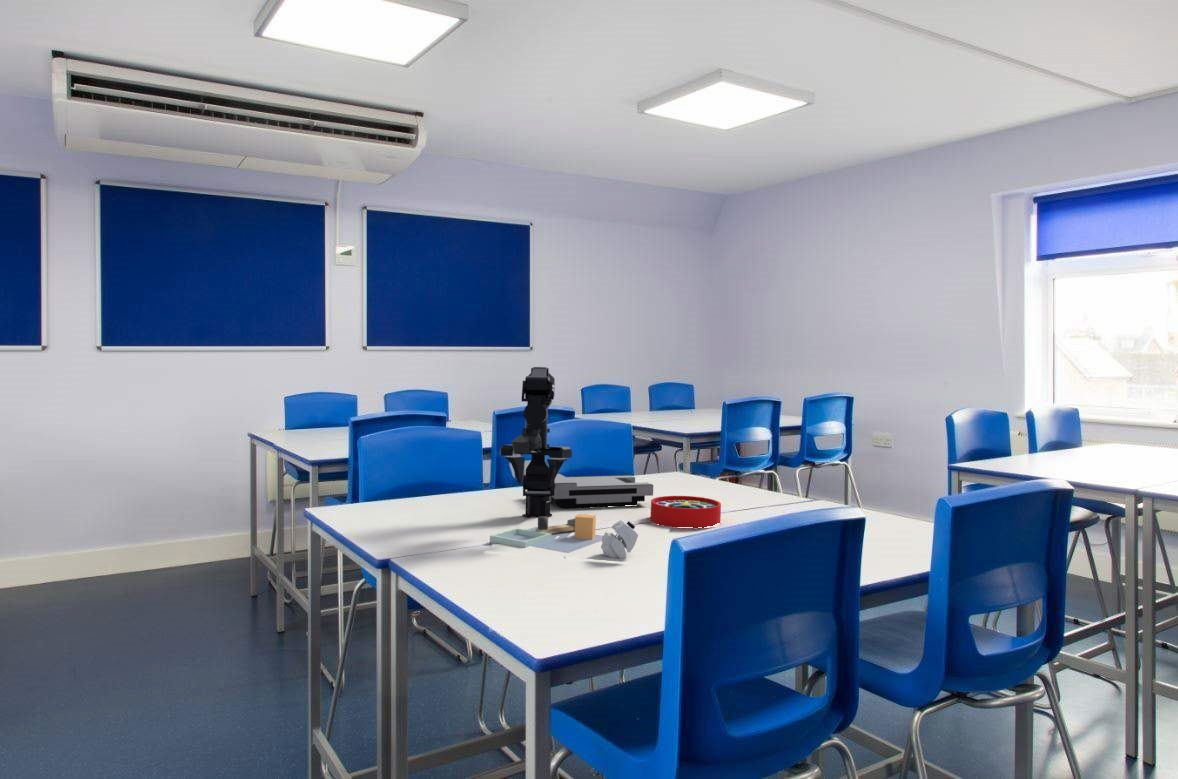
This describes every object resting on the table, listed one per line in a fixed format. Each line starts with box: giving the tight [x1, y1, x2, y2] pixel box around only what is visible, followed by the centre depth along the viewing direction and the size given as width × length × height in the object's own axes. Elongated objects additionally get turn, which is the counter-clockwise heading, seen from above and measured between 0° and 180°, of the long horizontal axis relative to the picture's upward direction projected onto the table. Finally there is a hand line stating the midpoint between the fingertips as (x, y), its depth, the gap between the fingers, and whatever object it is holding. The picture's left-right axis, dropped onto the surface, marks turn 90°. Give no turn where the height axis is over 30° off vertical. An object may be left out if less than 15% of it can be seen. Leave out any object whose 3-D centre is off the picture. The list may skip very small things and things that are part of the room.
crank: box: [535, 516, 575, 534], centre depth 210 cm, size 15×5×4 cm, turn 128°
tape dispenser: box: [600, 519, 639, 559], centre depth 188 cm, size 6×7×10 cm
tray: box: [489, 527, 552, 548], centre depth 201 cm, size 11×11×2 cm
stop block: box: [574, 513, 597, 539], centre depth 205 cm, size 4×5×6 cm
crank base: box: [506, 526, 603, 554], centre depth 204 cm, size 22×20×1 cm
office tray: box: [548, 472, 654, 510], centre depth 257 cm, size 21×32×8 cm, turn 108°
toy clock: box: [650, 495, 722, 528], centre depth 231 cm, size 20×6×20 cm
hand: (534, 484), depth 208 cm, fingers open, 9 cm apart
